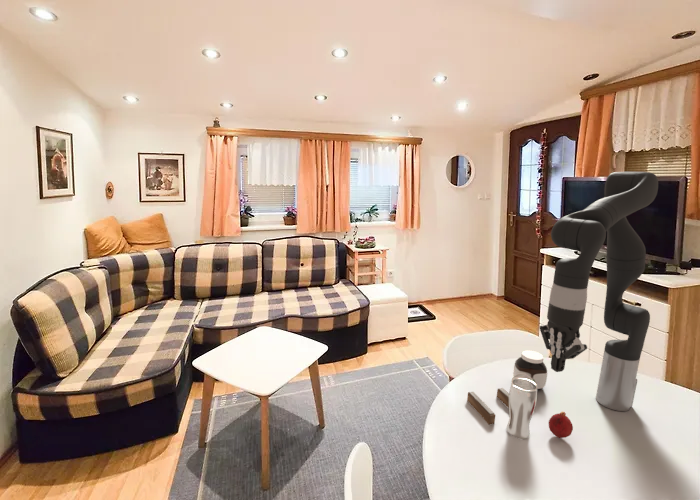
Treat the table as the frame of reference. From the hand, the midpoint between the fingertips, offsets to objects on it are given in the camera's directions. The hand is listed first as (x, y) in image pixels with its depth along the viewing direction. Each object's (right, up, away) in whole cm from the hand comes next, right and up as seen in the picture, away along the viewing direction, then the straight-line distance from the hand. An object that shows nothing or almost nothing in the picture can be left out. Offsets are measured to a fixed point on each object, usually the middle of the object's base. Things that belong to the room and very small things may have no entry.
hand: (556, 370), depth 94 cm
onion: (+7, -23, +13) cm, 27 cm away
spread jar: (+10, -18, +37) cm, 42 cm away
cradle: (-6, -20, +25) cm, 32 cm away
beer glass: (-3, -22, +15) cm, 27 cm away
